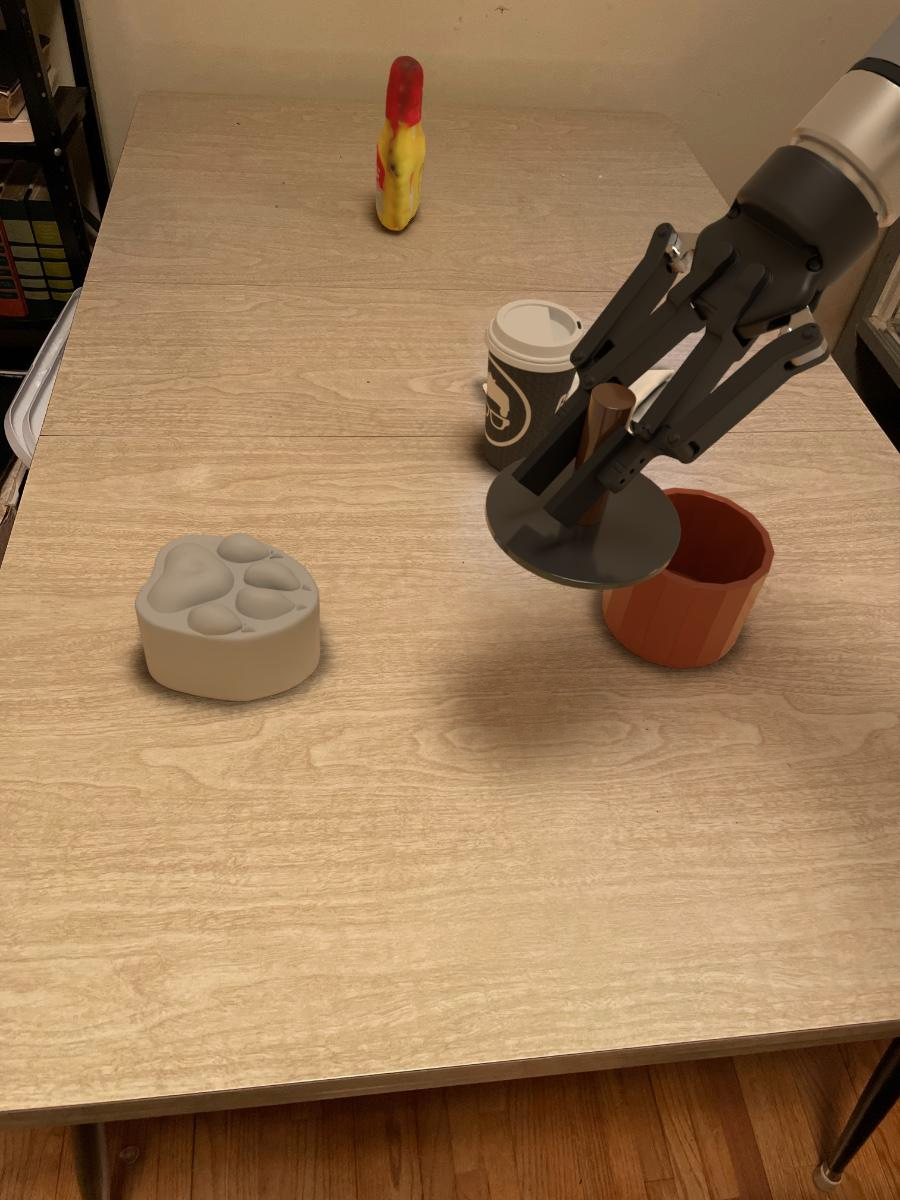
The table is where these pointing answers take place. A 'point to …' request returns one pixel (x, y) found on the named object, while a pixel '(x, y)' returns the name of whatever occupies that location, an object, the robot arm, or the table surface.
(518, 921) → the table surface
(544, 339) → the coffee cup
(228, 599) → the lumpy-topped squat cylinder
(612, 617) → the pot
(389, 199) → the bottle
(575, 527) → the lid
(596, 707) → the table surface
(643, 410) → the cloth
